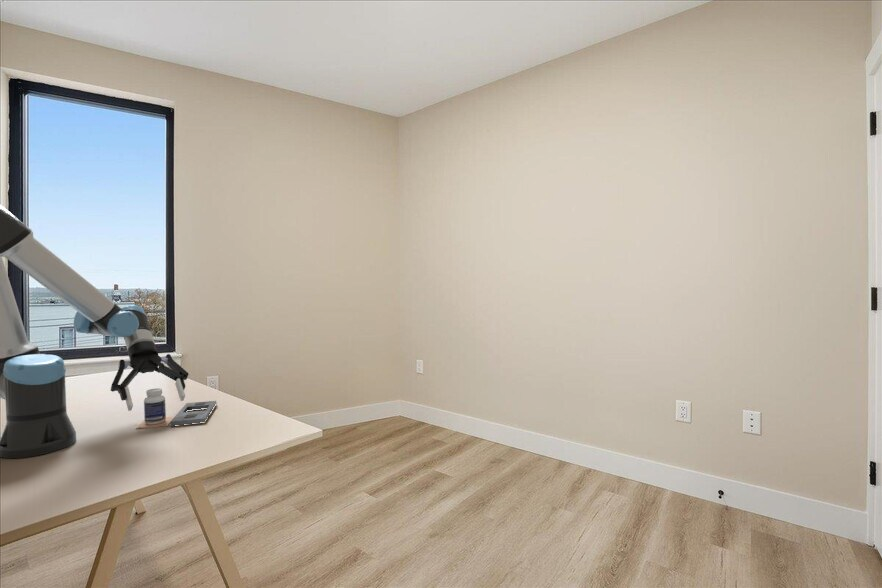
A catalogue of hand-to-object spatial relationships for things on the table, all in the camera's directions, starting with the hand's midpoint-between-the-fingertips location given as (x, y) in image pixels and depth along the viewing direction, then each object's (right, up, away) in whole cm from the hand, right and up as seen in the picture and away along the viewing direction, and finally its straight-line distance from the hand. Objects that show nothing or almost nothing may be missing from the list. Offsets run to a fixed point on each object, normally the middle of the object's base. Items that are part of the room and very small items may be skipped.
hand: (157, 403), depth 135 cm
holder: (+6, -6, +9) cm, 13 cm away
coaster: (-2, -7, +2) cm, 7 cm away
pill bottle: (-2, -6, +2) cm, 7 cm away
